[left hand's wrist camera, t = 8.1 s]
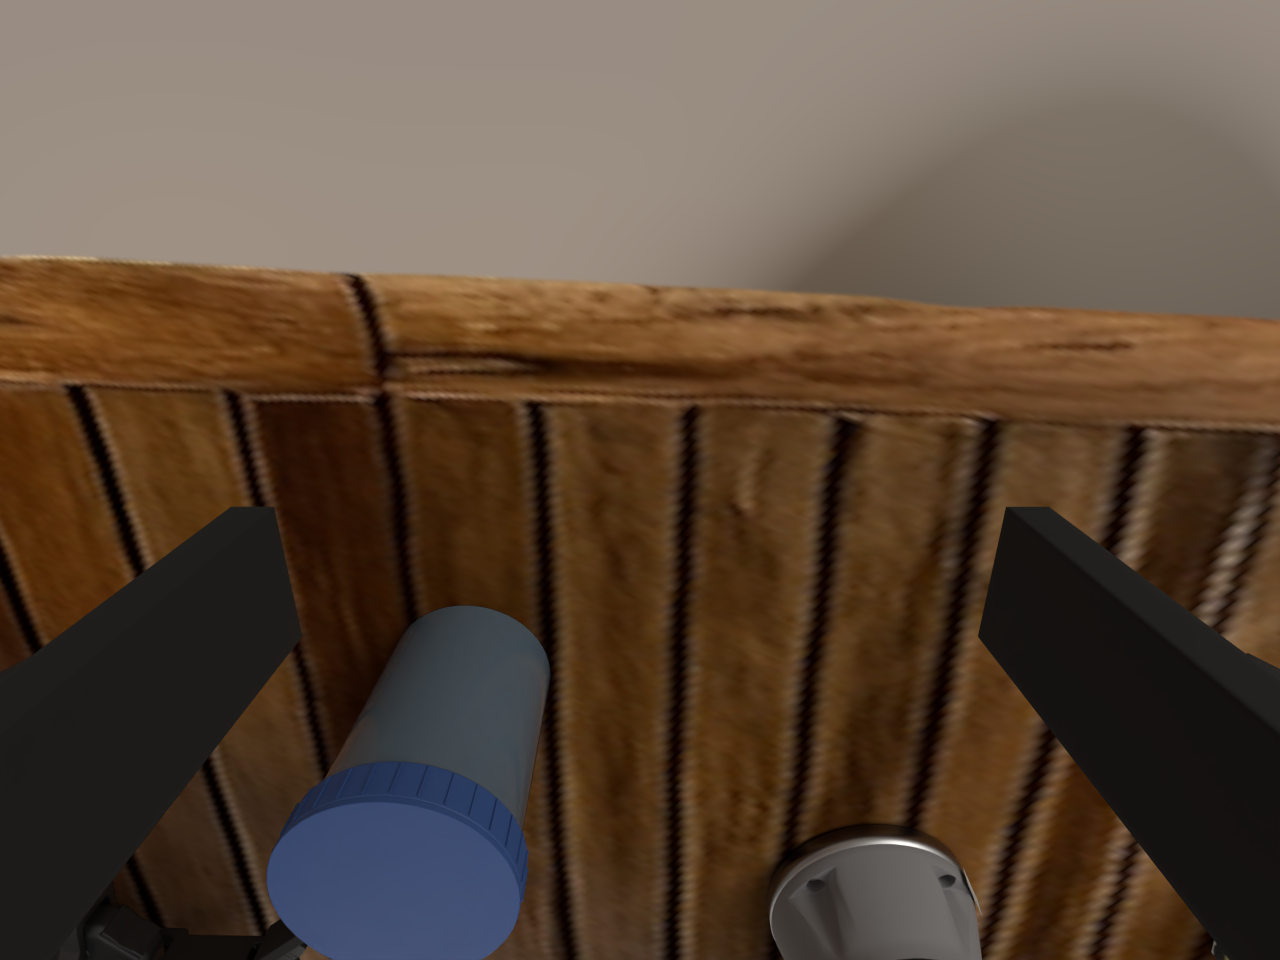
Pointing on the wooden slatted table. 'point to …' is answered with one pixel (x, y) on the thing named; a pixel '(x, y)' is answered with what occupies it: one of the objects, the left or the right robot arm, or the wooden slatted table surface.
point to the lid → (399, 866)
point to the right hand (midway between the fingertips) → (246, 848)
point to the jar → (459, 703)
